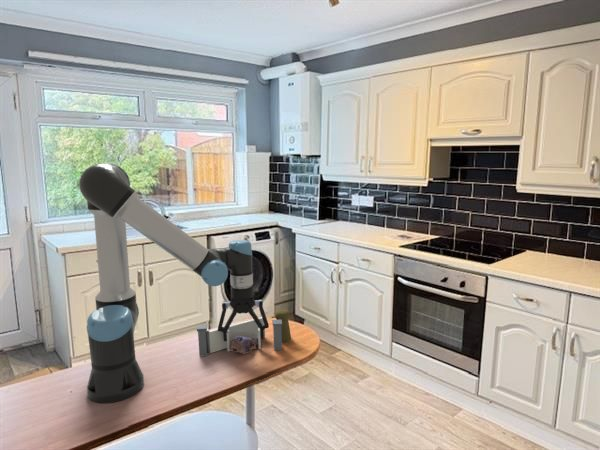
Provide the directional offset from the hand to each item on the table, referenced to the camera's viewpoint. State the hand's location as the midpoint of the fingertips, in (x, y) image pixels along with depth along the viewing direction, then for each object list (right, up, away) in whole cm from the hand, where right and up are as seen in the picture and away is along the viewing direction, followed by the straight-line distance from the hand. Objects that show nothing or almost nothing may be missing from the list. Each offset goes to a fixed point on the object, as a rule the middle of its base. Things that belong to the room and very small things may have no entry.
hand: (244, 348), depth 145 cm
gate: (-3, 0, +4) cm, 5 cm away
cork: (+13, +1, +8) cm, 15 cm away
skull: (+1, -1, 0) cm, 1 cm away
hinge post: (-14, -1, -2) cm, 14 cm away
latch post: (+12, 0, +1) cm, 12 cm away
